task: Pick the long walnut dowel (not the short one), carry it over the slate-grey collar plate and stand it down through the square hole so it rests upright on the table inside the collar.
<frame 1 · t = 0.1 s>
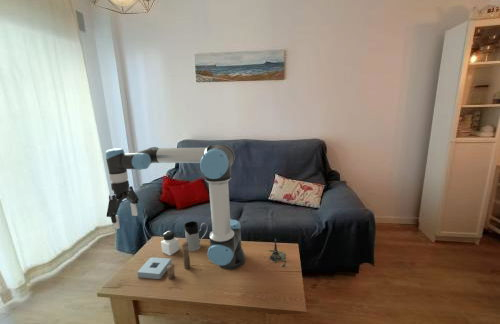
hand: (126, 221, 118), 28 cm above the table, fingers open, 13 cm apart
grey black mug: (197, 245, 145), on the table
collar plate: (155, 270, 124), on the table
medicine bottle: (171, 251, 140), on the table
grey-green irregular piece: (276, 259, 130), on the table
long pin: (187, 267, 125), on the table
short pin: (171, 277, 118), on the table
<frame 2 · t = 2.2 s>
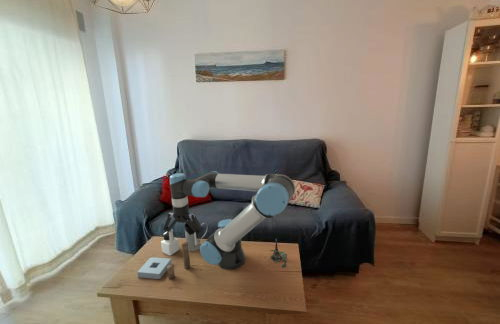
hand: (184, 242, 122), 14 cm above the table, fingers open, 13 cm apart
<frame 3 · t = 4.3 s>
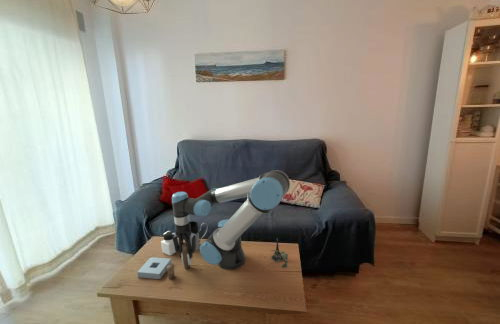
hand: (186, 263, 125), 3 cm above the table, fingers closed on long pin, 3 cm apart
long pin: (187, 267, 125), on the table, touching gripper
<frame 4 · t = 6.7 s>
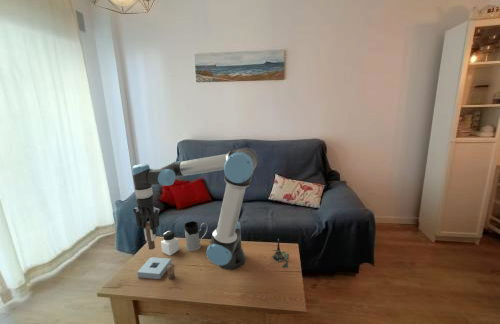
hand: (150, 239, 120), 18 cm above the table, fingers closed on long pin, 2 cm apart
long pin: (151, 247, 121), point 13 cm above the table, touching gripper
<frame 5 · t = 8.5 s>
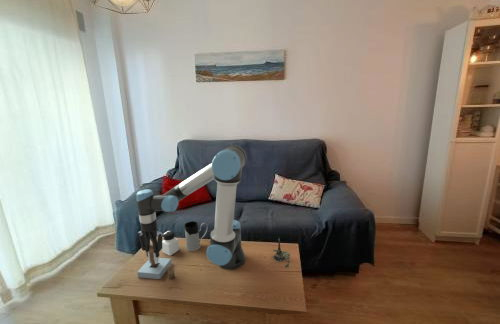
hand: (154, 261, 123), 5 cm above the table, fingers closed on long pin, 2 cm apart
long pin: (155, 270, 124), resting in collar plate, touching gripper
when the fingers open (5 cm above the table, at t = 9.1 s): long pin stays where it is, resting in collar plate.
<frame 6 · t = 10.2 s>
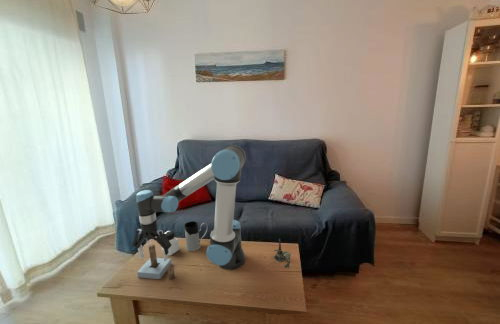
hand: (153, 258, 123), 7 cm above the table, fingers open, 13 cm apart
long pin: (155, 270, 124), resting in collar plate
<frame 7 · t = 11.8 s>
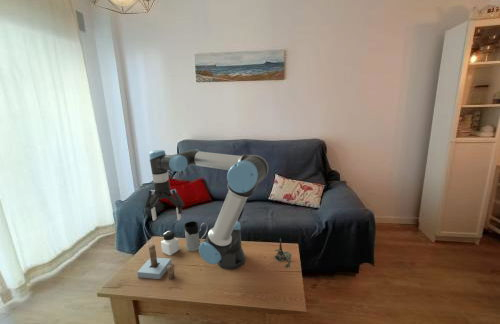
hand: (167, 219, 125), 25 cm above the table, fingers open, 13 cm apart
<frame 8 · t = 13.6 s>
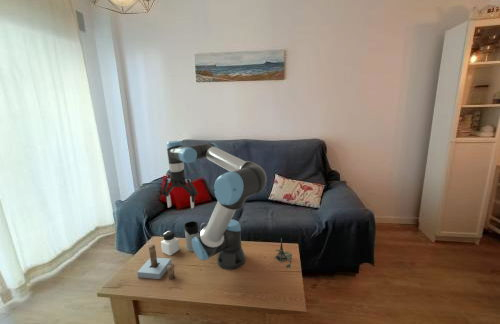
hand: (181, 207, 131), 29 cm above the table, fingers open, 13 cm apart
at the end: long pin 0.1 cm off-centre on the collar plate, point 0.0 cm above the collar plate's base; long pin tilted 0°; short pin moved 0.0 cm from its start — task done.
